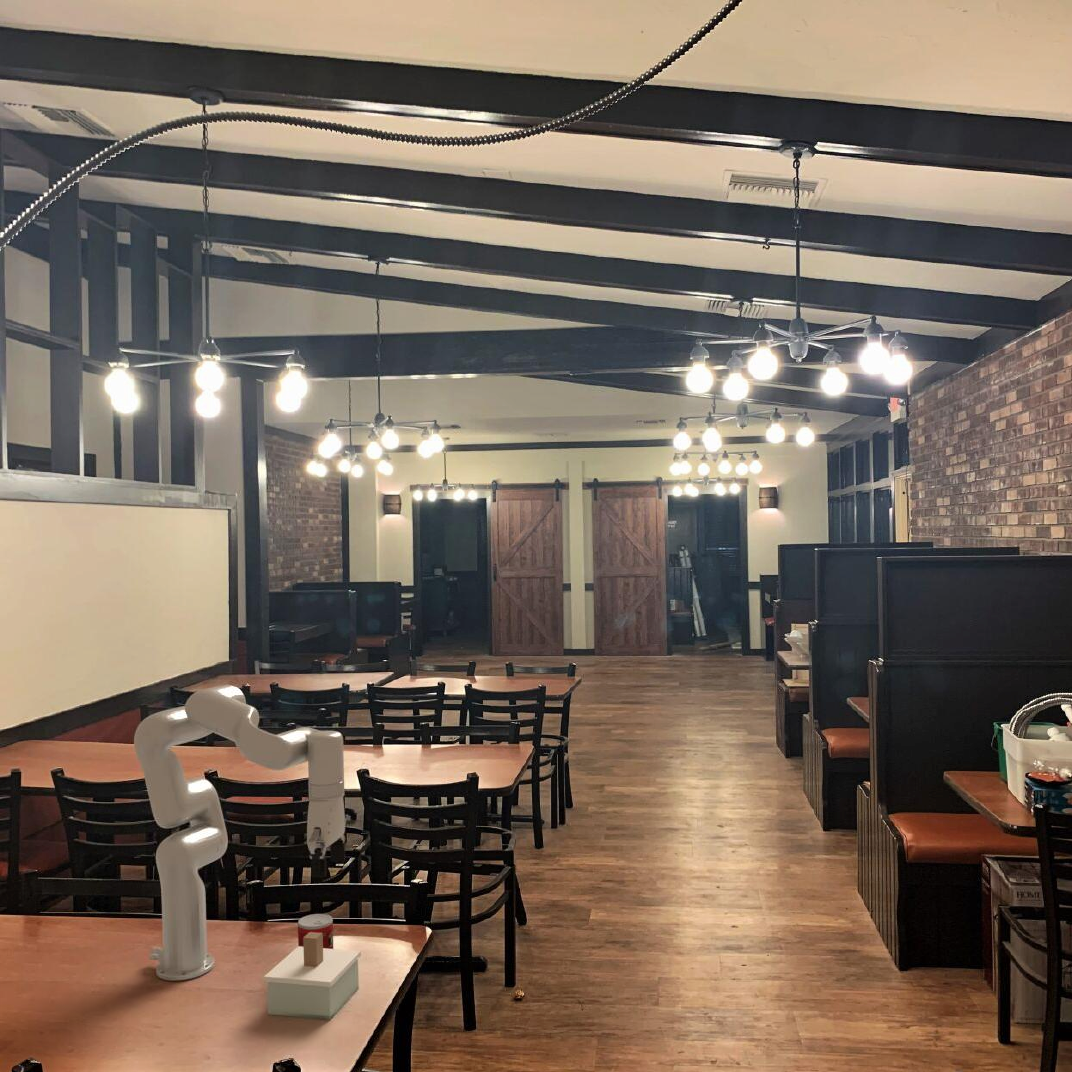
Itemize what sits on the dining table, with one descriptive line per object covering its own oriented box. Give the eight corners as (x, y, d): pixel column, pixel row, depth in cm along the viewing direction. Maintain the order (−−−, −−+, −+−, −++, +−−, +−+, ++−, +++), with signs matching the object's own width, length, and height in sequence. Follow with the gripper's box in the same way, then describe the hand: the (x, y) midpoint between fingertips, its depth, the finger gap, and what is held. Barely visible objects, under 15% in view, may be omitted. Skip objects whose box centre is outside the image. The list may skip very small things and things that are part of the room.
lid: (264, 981, 199) (263, 947, 199) (298, 950, 213) (297, 919, 213) (330, 987, 195) (329, 952, 195) (360, 955, 210) (360, 923, 210)
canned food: (325, 976, 216) (324, 927, 216) (293, 974, 218) (291, 925, 218) (339, 961, 223) (338, 914, 224) (307, 959, 225) (306, 912, 225)
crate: (268, 1014, 199) (267, 980, 199) (300, 983, 213) (299, 951, 213) (330, 1020, 196) (329, 985, 196) (358, 988, 209) (357, 956, 209)
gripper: (327, 779, 216) (328, 855, 216) (292, 799, 199) (294, 882, 199) (358, 780, 214) (360, 856, 214) (326, 801, 197) (328, 884, 197)
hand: (328, 868), depth 207 cm, fingers open, 9 cm apart
